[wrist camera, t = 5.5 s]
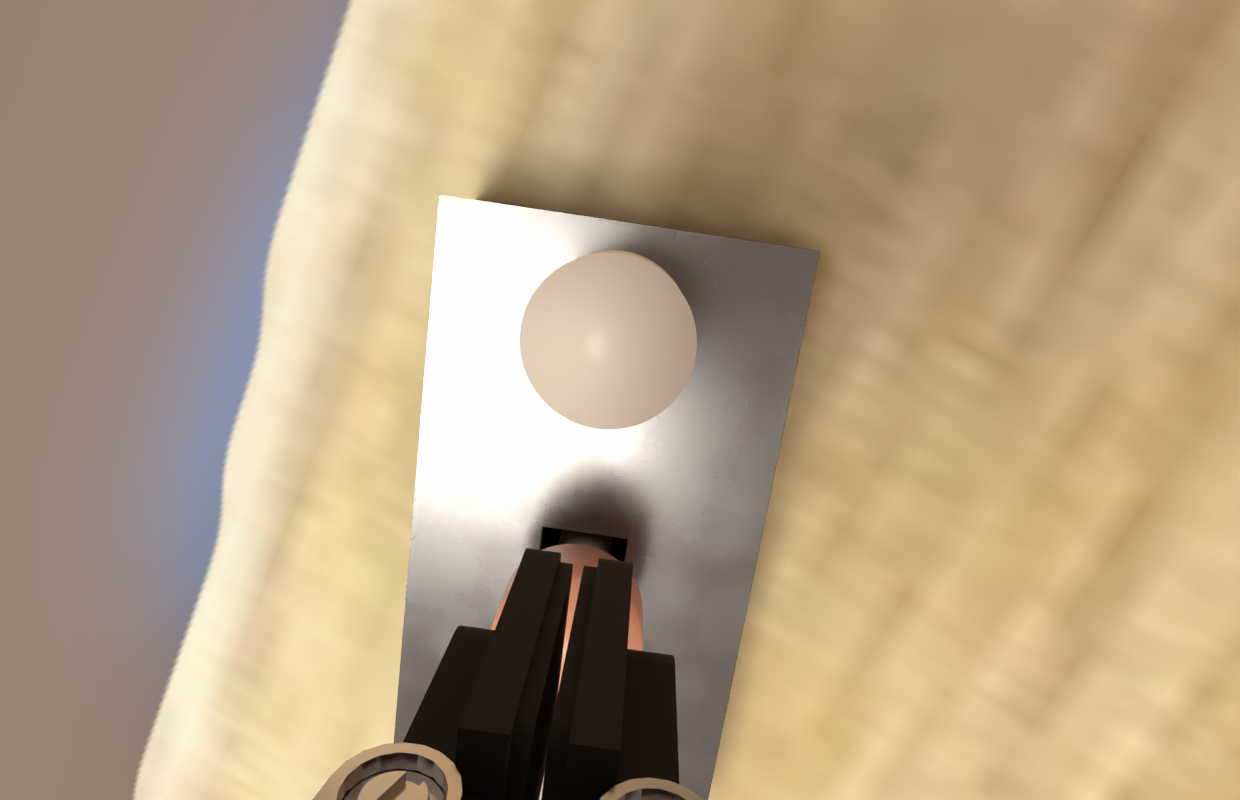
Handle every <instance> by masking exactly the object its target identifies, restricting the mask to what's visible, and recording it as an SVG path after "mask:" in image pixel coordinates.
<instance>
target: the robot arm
mask: <svg viewBox="0 0 1240 800" xmlns="http://www.w3.org/2000/svg"><path fill="white" fill-rule="evenodd" d="M572 572H573V564H570V563H563V562H561V553H559V552H552V551H545V550H537V549H530V548H526V550H525V552H524V554H523V557H522V560H521V562H520V565H519V568H518V570H517V573H516V576H515V578H514V581H513V583H512V586H511V589H510V591H509V594H508V597H507V599H506V602H505V605H504V607H503V610H502V613H501V615H500V618H499V621H498V623H497V626H496V628H495V630H490V629H483V628H476V627H469V626H462V625H460V626H458V627H457V629H456V630H455V632H454V634H453V636H452V638H451V640H450V643H449V645H448V647H447V649H446V651H445V653H444V655H443V657H442V660H441V662H440V664H439V666H438V668H437V670H436V672H435V675H434V677H433V679H432V681H431V683H430V685H429V687H428V689H427V692H426V694H425V696H424V698H423V700H422V702H421V704H420V706H419V709H418V711H417V713H416V715H415V717H414V719H413V721H412V724H411V726H410V728H409V730H408V732H407V734H406V736H405V738H404V741H403V743H394V744H384V745H381V746H378V747H374V748H371V749H368V750H365V751H363V752H361V753H359V754H358V755H356V756H354V757H353V758H351V759H349V760H347V761H346V762H345V763H344V764H343V765H342V766H341V767H340V768H339V769H338V770H337V771H336V772H334V773H333V774H332V775H331V777H330V778H329V779H328V781H327V782H326V783H325V784H324V786H323V787H322V788H321V790H320V791H319V792H318V793H317V795H316V796H315V797H314V799H313V800H539V797H540V792H541V787H542V782H543V777H544V782H543V790H542V798H541V800H704V799H702V798H701V797H700V796H698V795H697V794H695V793H694V792H693V791H691V790H690V789H688V788H687V787H684V786H682V785H679V759H678V731H677V703H676V676H675V658H674V656H673V655H668V654H661V653H654V652H646V651H639V650H632V649H627V648H628V633H629V619H630V604H631V589H632V575H633V563H631V562H624V561H616V560H609V559H602V558H599V561H598V567H592V566H585V565H584V568H583V572H582V577H581V582H580V587H579V592H578V597H577V602H576V607H575V612H574V617H573V622H572V627H571V632H570V637H569V642H568V647H567V652H566V656H565V661H564V666H563V671H562V676H561V681H560V686H559V679H560V671H561V663H562V655H563V646H564V638H565V630H566V622H567V613H568V605H569V597H570V589H571V580H572ZM558 688H559V691H558ZM544 772H545V773H544Z"/></svg>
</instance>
